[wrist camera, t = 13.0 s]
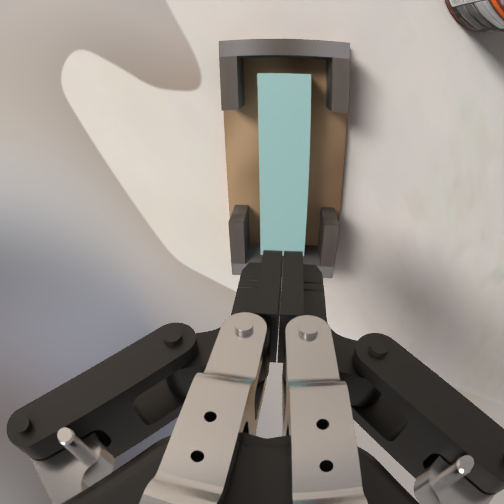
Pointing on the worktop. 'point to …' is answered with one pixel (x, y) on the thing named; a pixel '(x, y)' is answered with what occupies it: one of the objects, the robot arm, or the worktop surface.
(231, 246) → the endcap board
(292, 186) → the teal rectangular block
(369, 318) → the worktop surface
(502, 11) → the supplement bottle
